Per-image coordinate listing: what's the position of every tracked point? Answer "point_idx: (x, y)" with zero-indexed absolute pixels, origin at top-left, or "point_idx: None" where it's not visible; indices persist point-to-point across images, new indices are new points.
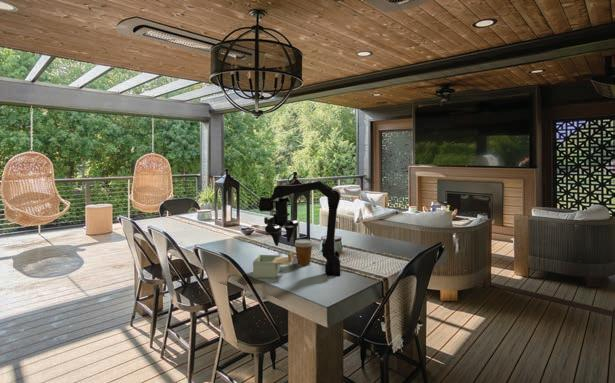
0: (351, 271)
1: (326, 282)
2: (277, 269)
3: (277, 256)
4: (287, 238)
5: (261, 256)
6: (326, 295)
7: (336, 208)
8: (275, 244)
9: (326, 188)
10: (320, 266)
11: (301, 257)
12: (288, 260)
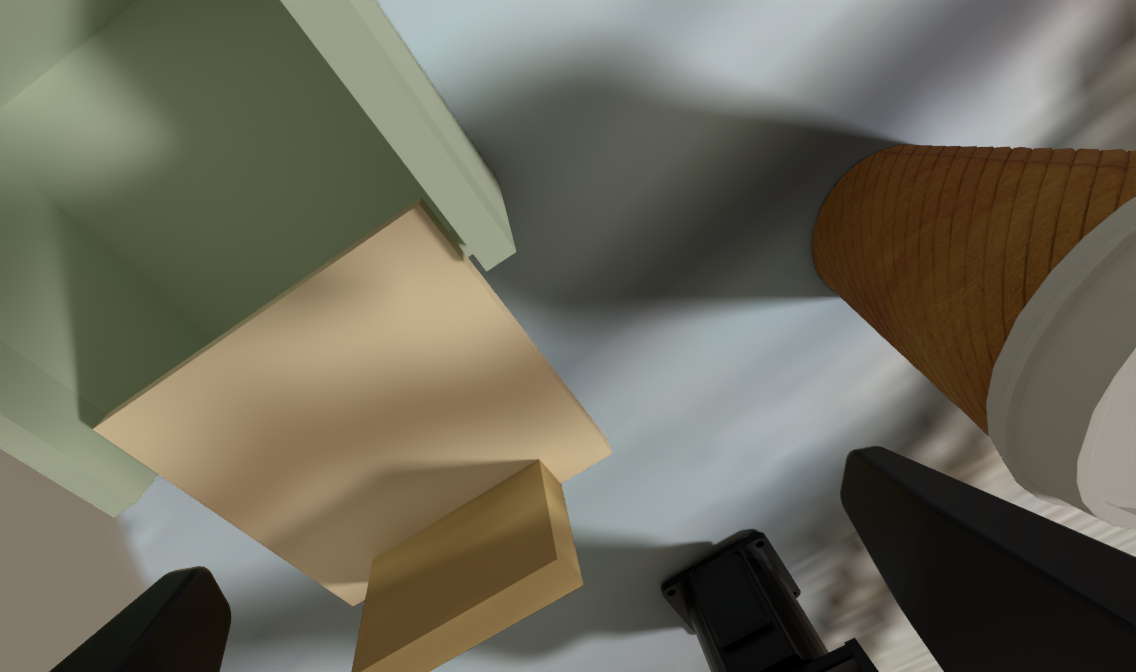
0: (840, 615)
1: (531, 661)
2: None
3: (459, 231)
4: (930, 539)
5: None
6: None
7: None
8: (132, 625)
9: None
10: (869, 406)
11: (871, 306)
12: (370, 585)
